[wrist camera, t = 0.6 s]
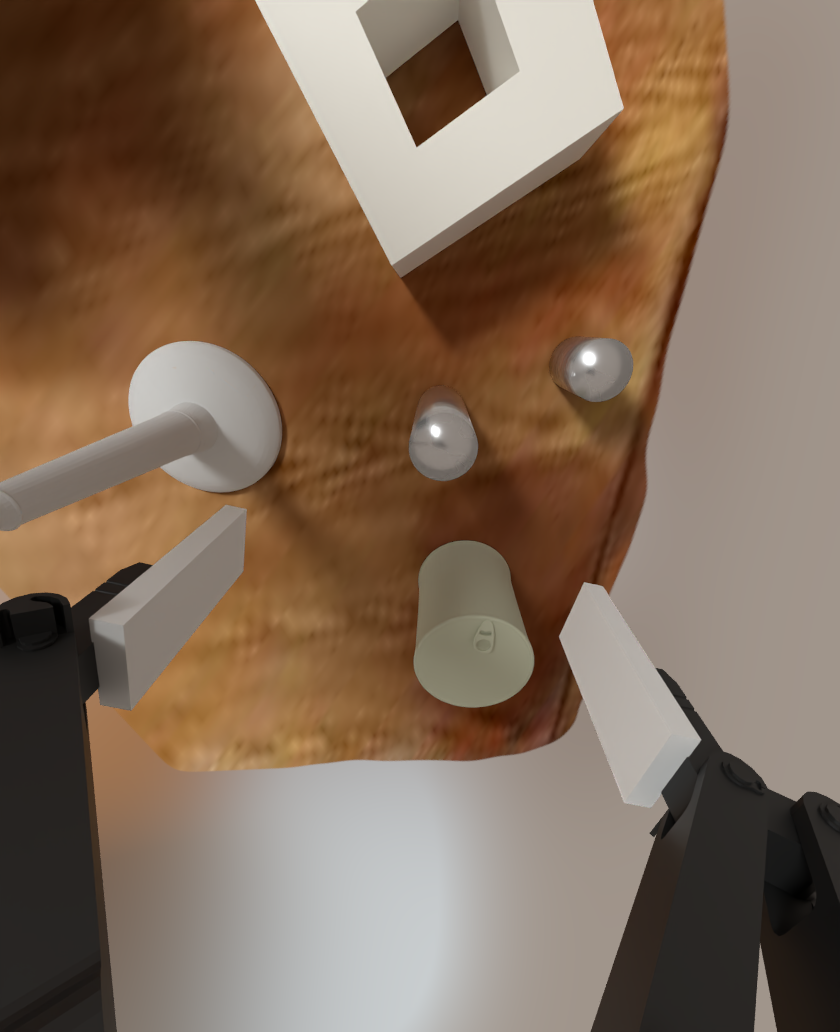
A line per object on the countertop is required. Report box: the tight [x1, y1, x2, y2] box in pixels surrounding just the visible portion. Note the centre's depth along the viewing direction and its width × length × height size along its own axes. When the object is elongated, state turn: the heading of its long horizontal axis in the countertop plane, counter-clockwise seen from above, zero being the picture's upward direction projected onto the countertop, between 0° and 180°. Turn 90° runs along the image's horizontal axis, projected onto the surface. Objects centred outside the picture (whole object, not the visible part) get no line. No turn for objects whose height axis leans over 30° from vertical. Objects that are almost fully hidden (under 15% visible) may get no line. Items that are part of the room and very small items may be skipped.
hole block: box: [255, 0, 624, 278], centre depth 24 cm, size 14×14×7 cm
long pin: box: [409, 385, 478, 481], centre depth 30 cm, size 4×4×12 cm
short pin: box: [549, 336, 633, 402], centre depth 30 cm, size 4×4×6 cm
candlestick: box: [0, 341, 282, 531], centre depth 22 cm, size 13×13×30 cm
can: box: [414, 540, 534, 707], centre depth 36 cm, size 9×9×12 cm
